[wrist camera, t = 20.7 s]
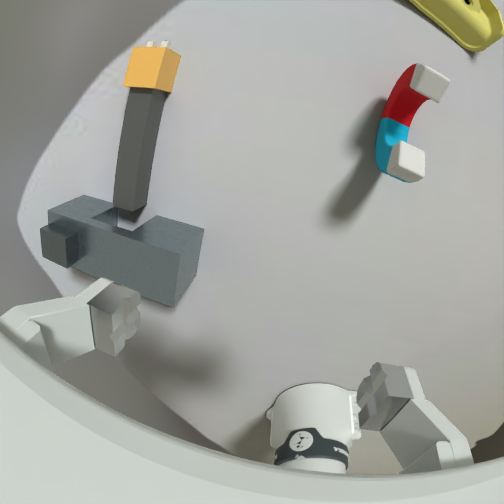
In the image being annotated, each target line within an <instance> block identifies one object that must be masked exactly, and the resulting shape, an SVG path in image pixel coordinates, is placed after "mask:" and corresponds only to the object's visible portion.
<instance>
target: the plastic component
mask: <svg viewBox="0 0 504 504" xmlns="http://www.w3.org/2000/svg"><path fill="white" fill-rule="evenodd" d="M409 1H410V2H411V3H412V4H414V5H415V6H416V7H417V8H418V9H419V10H420V11H422V12H423V13H424V14H426V15H427V16H428V17H429V18H431V19H432V20H433V21H434V22H435V23H437V24H438V25H439V26H440V27H441V28H442V29H444V30H445V31H446V32H447V33H448V34H449V35H450V36H451V37H452V38H453V39H455V40H456V41H457V42H458V43H459V44H460V45H461V46H462V47H464V48H465V49H467V50H470V51H474V52H479V51H483V50H484V49H486V48H487V47H489V46H490V45H491V44H493V43H494V42H496V41H497V40H498V39H500V38H501V37H502V36H504V23H503V19H502V16H501V13H500V12H499V10H498V9H497V7H496V6H495V5H494V3H493V2H492V1H491V0H468V1H469V5H467V4H466V3H465V1H464V0H409Z"/></svg>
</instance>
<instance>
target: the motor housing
mask: <svg viewBox="0 0 504 504" xmlns="http://www.w3.org/2000/svg"><path fill="white" fill-rule="evenodd" d="M117 216H118V207H115V206H113V203H111V202H107V201H104V200H100V199H97V198H93V197H89V196H86V195H83V196H80V197H78V198H75V199H73V200H71V201H68V202H66V203H63V204H61V205H59V206H56V207H54V208H52V209H50V210H48V225H46V226H44V227H42V228H40V235H41V246H42V255H43V257H44V258H46V259H48V260H51V261H53V262H55V263H57V264H59V265H61V266H63V267H65V268H67V269H68V268H69V267H70V266H71V267H73V268H75V269H78V270H80V271H82V272H84V273H87V274H89V275H91V276H94V277H96V278H98V279H99V278H107V279H109V280H111V281H114V282H116V283H118V284H121V285H123V286H125V287H128V288H130V289H132V290H135V291H137V292H139V294H140V295H141V296H143V297H146V298H148V299H151V300H154V301H157V302H159V303H162V304H165V305H168V306H170V307H173V308H174V307H175V305H176V304H177V302H178V301H179V299H180V298H181V296H182V295H183V293H184V292H185V290H186V289H187V288H188V286H189V285H190V283H191V282H192V280H193V279H194V277H195V276H196V272H197V266H198V260H199V254H200V249H201V243H202V238H203V233H204V229H203V228H199V227H196V226H192V225H189V224H185V223H182V222H178V221H175V220H171V219H168V218H164V217H161V216H155V217H154V218H152V219H151V220H149V221H147V222H146V223H144V224H143V225H141V226H140V227H138V228H137V229H135V230H134V231H129V230H126V229H123V228H119V227H117Z"/></svg>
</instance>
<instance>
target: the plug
mask: <svg viewBox="0 0 504 504" xmlns="http://www.w3.org/2000/svg"><path fill="white" fill-rule="evenodd" d="M156 43H157V42H155V41H148V42H147V46H146V47H133V50H132V53H131V57H130V61H129V64H128V68H127V72H126V76H125V80H124V84H123V86H125V87H130V92H129V96H128V101H127V106H126V111H125V116H124V121H123V126H122V132H121V138H120V145H119V151H118V159H117V166H116V175H115V184H114V195H113V206H115V207H118V208H122V209H125V210H128V211H132V212H133V211H135V210H137V209H139V208H141V207H143V206H145V205H146V204H147V197H148V190H149V182H150V176H151V169H152V163H153V157H154V151H155V146H156V140H157V135H158V130H159V125H160V120H161V116H162V111H163V107H164V103H165V98H166V94H167V92H172V88H173V84H174V80H175V76H176V72H177V69H178V65H179V62H180V58H181V55H179V54H177V53H176V52H174V51H172V50H170V49H169V48H170V45H171V42H169V41H162V44H161V47H155V46H156Z"/></svg>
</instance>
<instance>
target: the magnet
mask: <svg viewBox="0 0 504 504" xmlns="http://www.w3.org/2000/svg"><path fill="white" fill-rule="evenodd" d="M449 83H450V80H449V79H448V78H446V77H445V76H443V75H442V74H440V73H438V72H437V71H435V70H433V69H431V68H430V67H428V66H426V65H424V64H418V63H417V64H414V65H412V66H410V67H409V68H407V69H406V71H405V72H404V73H403V74H402V75H401V77H400V78H399V79H398V81H397V82H396V84H395V86H394V88H393V90H392V92H391V94H390V96H389V98H388V101H387V103H386V106H385V108H384V111H383V114H382V118H381V121H380V125H379V129H378V134H377V139H376V148H375V158H376V164H377V166H378V168H379V170H381V171H382V172H383V173H385V174H388V175H390V176H392V177H394V178H397V179H399V180H401V181H403V182H408V183H411V182H416V181H419V180H420V179H422V178H424V174H425V152H424V151H422V150H420V149H418V148H416V147H414V146H412V145H410V144H408V143H407V136H408V131H409V127H410V124H411V121H412V119H413V117H414V115H415V113H416V111H417V110H418V108H419V107H420V106H421V105H422V104H423V103H424V102H425V101H426V100H429V99H431V100H433V101H435V102H437V103H439V102H440V100H441V98H442V97H443V95H444V93H445V91H446V89H447V87H448V85H449Z"/></svg>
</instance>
